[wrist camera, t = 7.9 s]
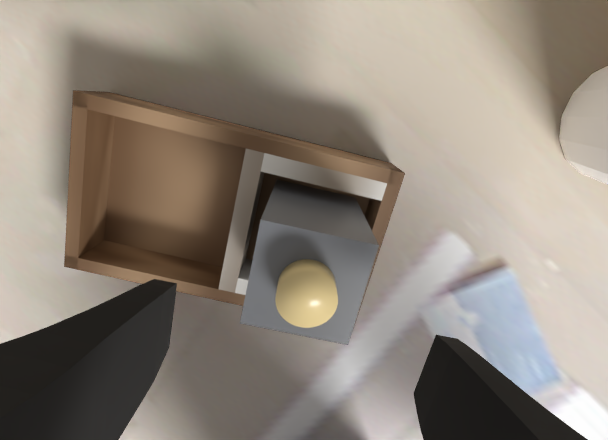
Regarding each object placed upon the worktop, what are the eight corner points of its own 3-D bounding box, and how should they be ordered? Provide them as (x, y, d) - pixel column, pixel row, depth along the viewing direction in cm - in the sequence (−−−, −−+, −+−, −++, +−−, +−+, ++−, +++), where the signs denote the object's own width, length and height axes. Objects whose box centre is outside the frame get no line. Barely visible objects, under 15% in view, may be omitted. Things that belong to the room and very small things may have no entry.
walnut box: (96, 244, 20) (64, 266, 17) (109, 92, 18) (73, 90, 15) (346, 300, 21) (352, 330, 18) (391, 163, 18) (404, 173, 16)
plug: (261, 252, 19) (234, 340, 12) (276, 179, 18) (256, 229, 11) (335, 268, 20) (350, 363, 12) (355, 197, 18) (385, 257, 11)
